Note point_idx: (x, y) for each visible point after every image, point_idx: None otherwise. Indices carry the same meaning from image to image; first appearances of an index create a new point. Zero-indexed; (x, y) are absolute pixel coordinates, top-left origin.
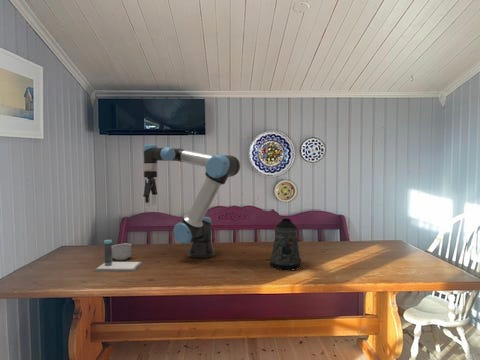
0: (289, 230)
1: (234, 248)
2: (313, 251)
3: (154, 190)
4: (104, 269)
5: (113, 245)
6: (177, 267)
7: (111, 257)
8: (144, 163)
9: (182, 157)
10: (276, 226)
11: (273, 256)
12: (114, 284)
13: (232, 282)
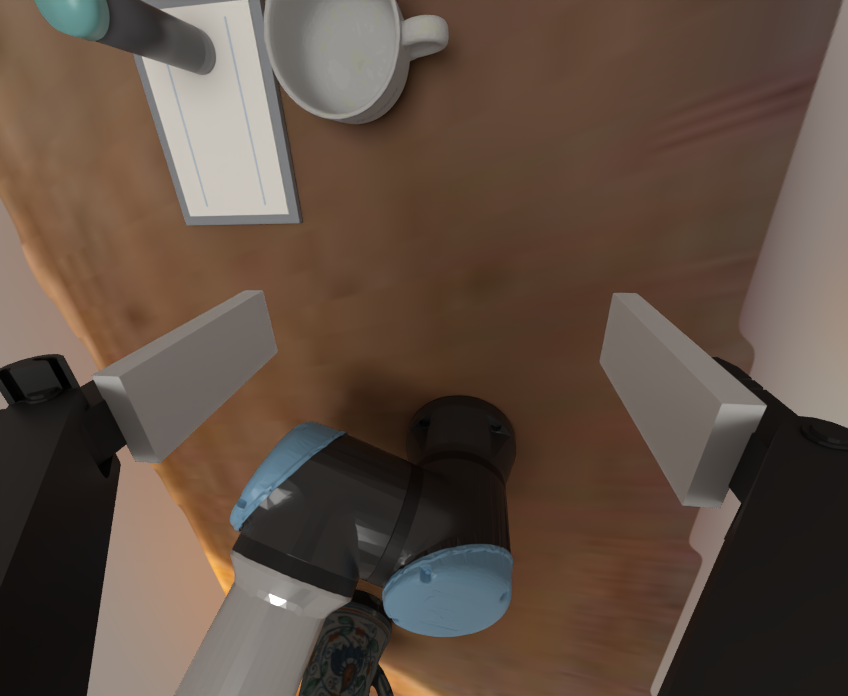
0: None
1: (571, 539)
2: (510, 684)
3: (689, 625)
4: (138, 67)
5: None
6: (283, 375)
7: (171, 64)
8: None
9: None
10: None
11: (325, 623)
12: (41, 206)
13: (201, 508)
